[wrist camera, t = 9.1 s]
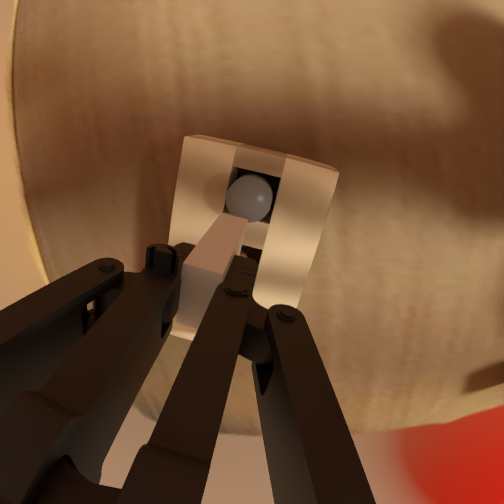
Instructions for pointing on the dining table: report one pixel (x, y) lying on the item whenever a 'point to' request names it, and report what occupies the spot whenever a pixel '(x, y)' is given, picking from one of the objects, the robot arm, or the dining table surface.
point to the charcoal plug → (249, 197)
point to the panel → (265, 230)
